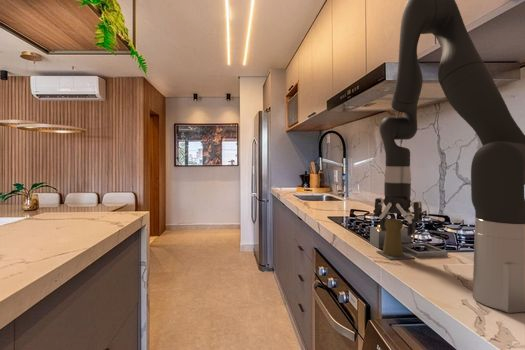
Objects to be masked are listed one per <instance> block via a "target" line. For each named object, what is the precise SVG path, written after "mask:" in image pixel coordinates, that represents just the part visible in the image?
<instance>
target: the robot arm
mask: <svg viewBox="0 0 525 350" xmlns="http://www.w3.org/2000/svg"><path fill="white" fill-rule="evenodd" d="M402 10H403V11H402V14H401V21H400V28H399V29H400V30H399V31H400V33H399V47H398V48H399V49H398V63H397V64H398V66H397V74H396V81H395V85H394V89H393V94H392V99H391V103H390V104H391V105H390V106H391V109H393V110H394V111H396V112H400V113H404V116H386V117H384V118H383V119H382V120H381V122H380V125H379V133H380V136H381V140H382V143H383V148H384V153H385V169H384V178H383V179H384V187H383V188H384V193H383V194H384V198H382V197H379V198H378V197H377V198H375V199H374V212H373V213H374V214H373V215H374V217H377V218H379V225H380V229H381V230H382V231H386V227H385V221H386V220H387V219H388V216H390V215H391V214H392V215H393V214H396V215H402V217H403V218H405V219H406V221H407V222H408V223H407V235H408V236H411V237H412V236H413V235H414V234H415V233H416V224H417V223H420V222H422V221H423V210H422V209H423V207H422V205H423V204H422V202H421V201H411V195H412V194H411V193H412V191H411V190H412V189H411V187H412V172H411V151H410V149H409V148H407V147H405V146H404V147H403V146H401V145H398V144H397V142H395V140H396V141H399V140H400V141H402V140H405V141H407V140H412V139H413V138H414V137H415V136H416V134H417V132H418V103H419V99H420V96H421V92H422V87H423V84H424V83H423V81H424V80H423V79H424V78H423V73H422V70H421V69H422V68H421V66H420V63H419V57H418V44H419V41H420V38H421V35H428V34H432V35H433V36H434V37H435V38H436V41H437V42H438V44H439V46H440V48H441V57H440V62H439V66H438V72H437V75H438V76H437V77H438V83H439V85H440V87H441V90H442V91H443V94H444V96H445V98H446V101H448V103H449V104H450V106H451V107H452V109H453V110H454V111H456V113H457V114H458V115H459V116H460V117H461V118H462V119H463V120H464V121H465V122H466V123H467V124H468V125H469V127H471V128H472V130H473V131H474V133H475V134H476V136H478V139H479V141H480V142H481V147H479V149H477V150H476V152H475V153H474V155H473V158H472V161H471V165H470V166H471V167H470V187H471V188H470V191H471V193H470V194H471V195H470V196H471V203H472V206H473V208H474V213H475V215H474V216H475V218H474V219H475V220H474V246H473V273H472V275H473V276H472V297H473V299H474V300H475V301H477V302H478V303H480V304H482V305H484V306H487V307H490V308H493V309H497V310H500V311H502V312H504V313H506V314H508V313H509V314H510V313H512V314H513V313H522V312H523V313H524V312H525V134H524V132H523V131H522V129H521V128H520V127H519V125H518V124H517V122H516V120H515V119H514V118H513V116H512V115H511V113H510V110H509V108H508V106H507V104H506V102H505V100H504V98H503V96H502V94H501V92H500V90H499V88H498V87H497V85H496V83H495V81H494V79H493V77H492V75H491V73H490V71H489V68H488V67H487V65H486V63H485V61H484V60H483V59H482V57H481V55H480V53H479V51H478V50H477V48H476V46H475V44H474V42H473V41H472V38H471V35H470V34H469V33H468V30H467V28H466V25H465V22H464V19H463V17H462V14H461V12H460V9H459V6H458V4H457V2H456V0H407V1H406V2H405V5H404V6H403V9H402ZM383 205H384V206H385V207H384V209H383ZM411 207H412V209H413V212H412V210H411V209H410V208H411Z"/></svg>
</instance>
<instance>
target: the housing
mask: <svg viewBox="0 0 525 350" xmlns="http://www.w3.org/2000/svg"><path fill="white" fill-rule="evenodd" d="M407 229H408V227H407V228H406V227H404V230H401V239H402V247H403V251H404V253H406V254H408V255H410V256H413V257H415V259H423V258H424V259H425V258H442V257H443V258H447V257H448V255H449V254H448V253H449V252H448V251H446V250H443V249H442V248H439V247H436V246H433V245H431V244H428V243H425V242H422V243H419V242H418V243H412V236H408V235H407ZM385 235H386V231H382V230H378V229H377V226H370V227H369V244H370V245H372V246H373V247H375V248H377V249H383V247H384V241H385ZM418 246H425V247H426V249H425V250H428V251H416V249H411V248H413V247H418Z"/></svg>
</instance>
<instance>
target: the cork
mask: <svg viewBox="0 0 525 350" xmlns="http://www.w3.org/2000/svg"><path fill="white" fill-rule="evenodd" d="M386 219H387V220H386V221H385V227H386V235H385V241H384V247H383V248H382V251H383V254H385V255H388V256H395V257H399V256H403V247H402V239H401V229H402V227H403V225H404V224H403V222H402V220H401V219H398V218H386Z"/></svg>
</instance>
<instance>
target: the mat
mask: <svg viewBox="0 0 525 350" xmlns="http://www.w3.org/2000/svg"><path fill="white" fill-rule="evenodd" d="M376 253H377V254H379V255H381V256H382V257H384V258H386V259H388V260H389V261H395V260H396V261H397V260H415V259H416V257H414V256H412V255H410V254H408V253H406V252H403V256H399V257H395V256H388V255H385V254H383V250H376Z"/></svg>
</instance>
